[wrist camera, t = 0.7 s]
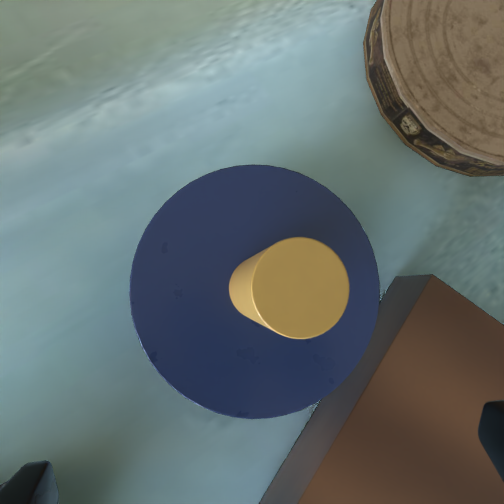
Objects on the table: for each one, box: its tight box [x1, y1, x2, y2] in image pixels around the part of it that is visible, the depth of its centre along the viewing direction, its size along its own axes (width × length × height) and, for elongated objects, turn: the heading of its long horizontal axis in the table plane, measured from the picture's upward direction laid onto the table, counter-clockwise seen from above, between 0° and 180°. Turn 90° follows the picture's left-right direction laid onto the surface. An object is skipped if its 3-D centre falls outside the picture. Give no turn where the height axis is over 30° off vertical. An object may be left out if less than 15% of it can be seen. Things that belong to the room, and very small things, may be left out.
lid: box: [129, 165, 380, 419], centre depth 15 cm, size 11×11×8 cm
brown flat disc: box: [363, 0, 504, 176], centre depth 26 cm, size 16×16×3 cm
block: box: [259, 274, 504, 504], centre depth 22 cm, size 17×13×4 cm
